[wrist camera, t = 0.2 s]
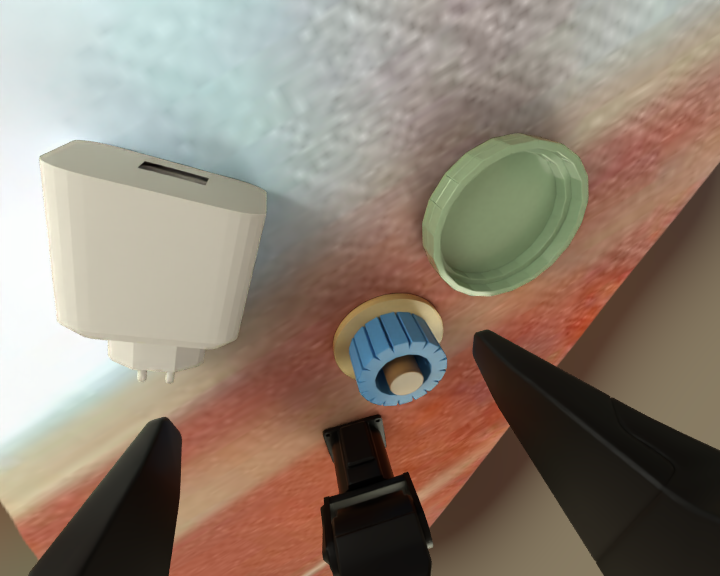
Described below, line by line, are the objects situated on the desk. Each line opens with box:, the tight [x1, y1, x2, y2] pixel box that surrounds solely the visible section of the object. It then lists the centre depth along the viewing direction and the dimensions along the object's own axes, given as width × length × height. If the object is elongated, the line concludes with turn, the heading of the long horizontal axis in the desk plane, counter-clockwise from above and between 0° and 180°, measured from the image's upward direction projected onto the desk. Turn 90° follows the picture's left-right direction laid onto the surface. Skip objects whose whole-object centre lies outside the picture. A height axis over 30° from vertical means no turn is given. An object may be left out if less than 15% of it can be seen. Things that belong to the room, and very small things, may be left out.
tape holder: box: [333, 293, 443, 395], centre depth 28 cm, size 10×10×5 cm
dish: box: [422, 133, 588, 296], centre depth 24 cm, size 11×11×3 cm
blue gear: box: [349, 312, 447, 406], centre depth 28 cm, size 7×7×4 cm
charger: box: [39, 140, 267, 383], centre depth 20 cm, size 5×9×15 cm
